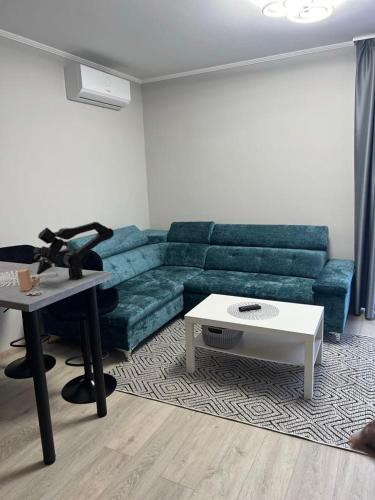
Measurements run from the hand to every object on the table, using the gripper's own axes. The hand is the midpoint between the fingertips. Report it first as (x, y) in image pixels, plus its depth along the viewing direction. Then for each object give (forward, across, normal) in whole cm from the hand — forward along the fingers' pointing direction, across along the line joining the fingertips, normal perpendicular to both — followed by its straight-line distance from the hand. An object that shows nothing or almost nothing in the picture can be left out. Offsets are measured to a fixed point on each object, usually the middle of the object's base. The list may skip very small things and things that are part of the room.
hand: (37, 274), depth 188 cm
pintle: (+4, -9, +6) cm, 11 cm away
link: (+7, -5, +3) cm, 9 cm away
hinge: (-2, -21, +13) cm, 24 cm away
